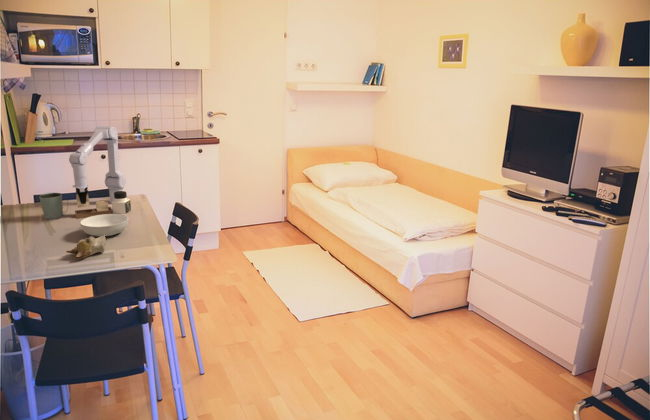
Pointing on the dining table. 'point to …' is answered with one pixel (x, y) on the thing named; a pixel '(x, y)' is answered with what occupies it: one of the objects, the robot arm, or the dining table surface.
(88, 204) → the birch block
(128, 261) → the dining table surface
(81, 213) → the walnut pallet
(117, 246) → the dining table surface
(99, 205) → the block
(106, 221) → the serving bowl
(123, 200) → the medicine bottle
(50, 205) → the green cylindrical pot
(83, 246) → the ceramic sculpture
